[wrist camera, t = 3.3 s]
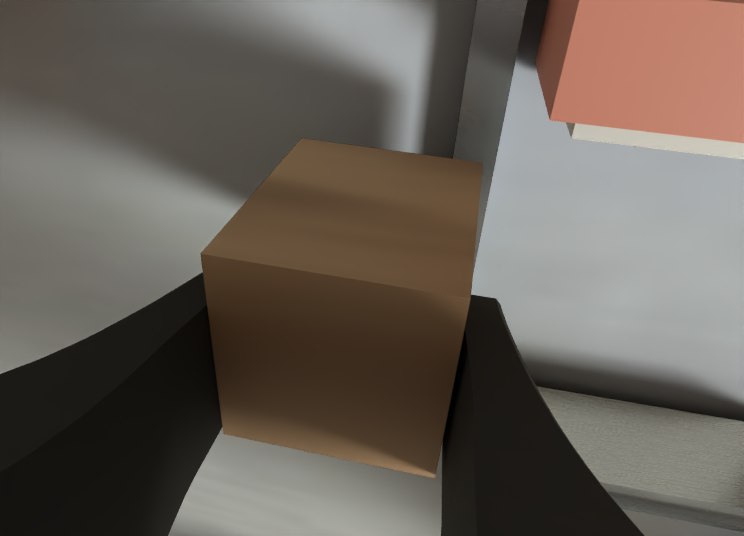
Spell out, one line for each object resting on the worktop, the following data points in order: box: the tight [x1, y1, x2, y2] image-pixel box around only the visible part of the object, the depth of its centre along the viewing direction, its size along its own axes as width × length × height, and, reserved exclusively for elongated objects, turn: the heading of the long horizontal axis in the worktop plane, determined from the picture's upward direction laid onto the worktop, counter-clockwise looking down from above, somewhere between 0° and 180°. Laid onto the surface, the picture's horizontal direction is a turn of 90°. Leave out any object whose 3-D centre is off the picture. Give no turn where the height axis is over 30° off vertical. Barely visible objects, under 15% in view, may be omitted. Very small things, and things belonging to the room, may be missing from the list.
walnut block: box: [201, 138, 483, 478], centre depth 11 cm, size 4×4×5 cm
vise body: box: [453, 0, 744, 536], centre depth 13 cm, size 17×13×4 cm
